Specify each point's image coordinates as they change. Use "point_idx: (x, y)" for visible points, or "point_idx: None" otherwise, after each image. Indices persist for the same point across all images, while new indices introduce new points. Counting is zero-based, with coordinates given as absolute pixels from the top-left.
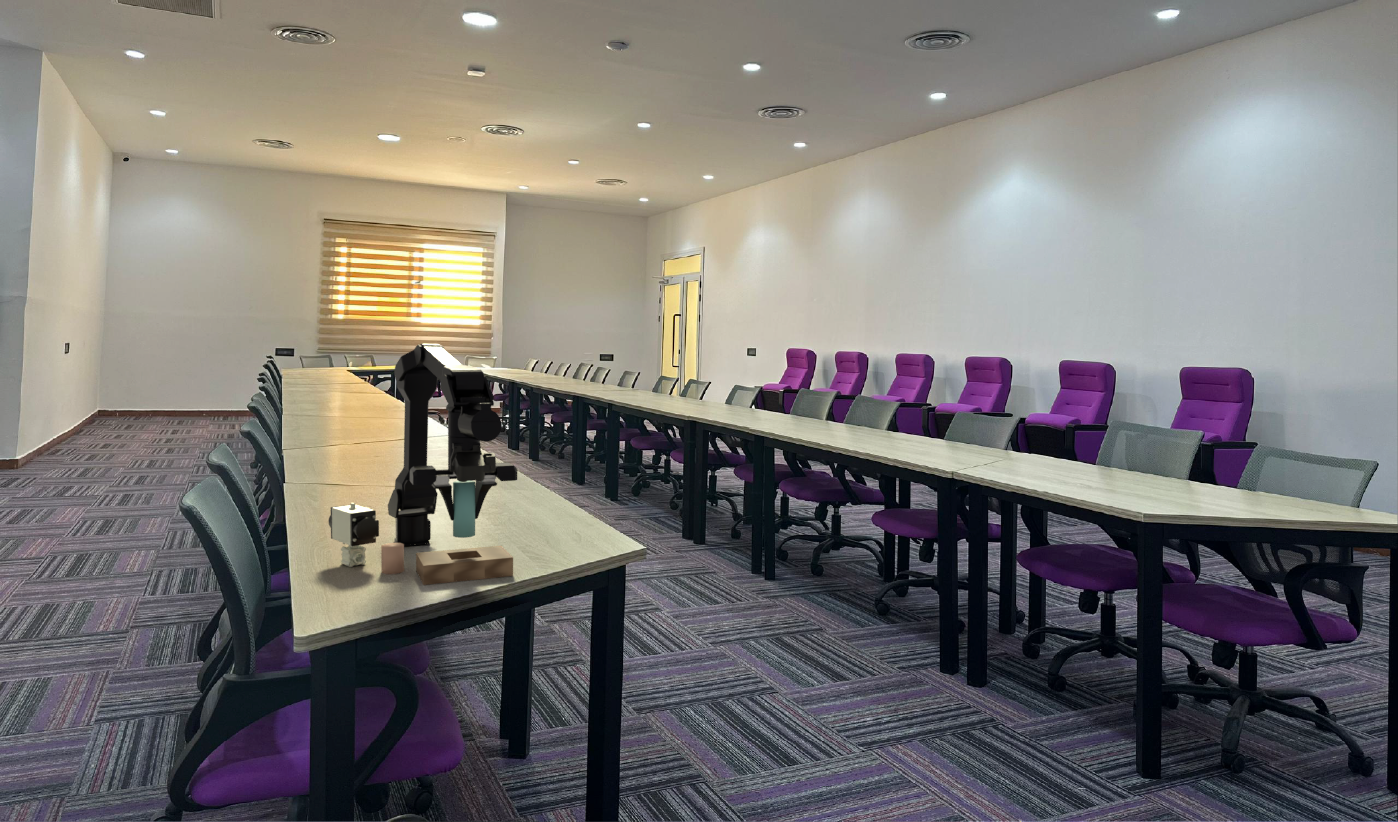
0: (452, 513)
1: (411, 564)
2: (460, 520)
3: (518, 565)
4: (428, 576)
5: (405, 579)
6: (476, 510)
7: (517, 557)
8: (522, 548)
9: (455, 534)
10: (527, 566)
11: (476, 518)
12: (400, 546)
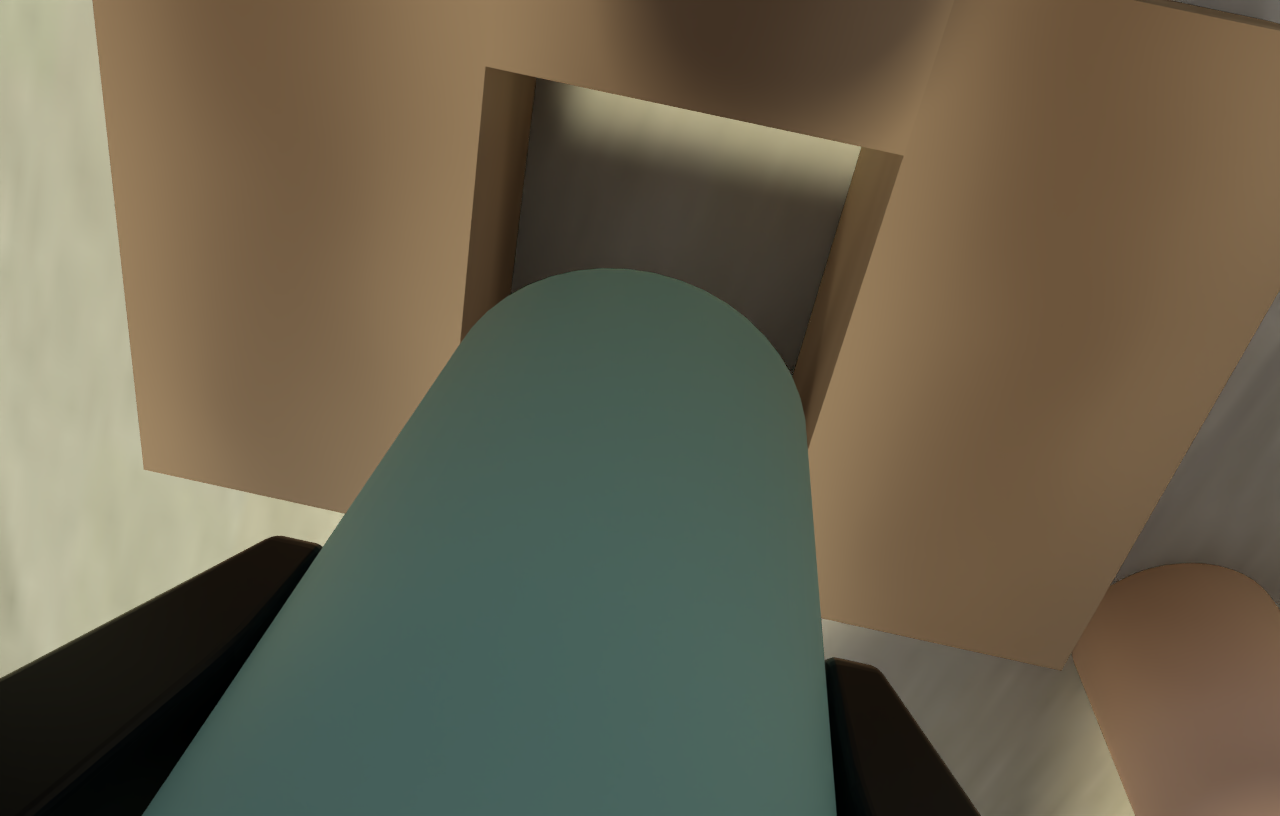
0: (894, 782)
1: (932, 725)
2: (735, 506)
3: (99, 212)
4: (1255, 21)
5: (1259, 350)
6: (196, 663)
7: (74, 464)
8: (5, 663)
9: (803, 422)
10: (14, 124)
11: (299, 540)
12: (1262, 777)
